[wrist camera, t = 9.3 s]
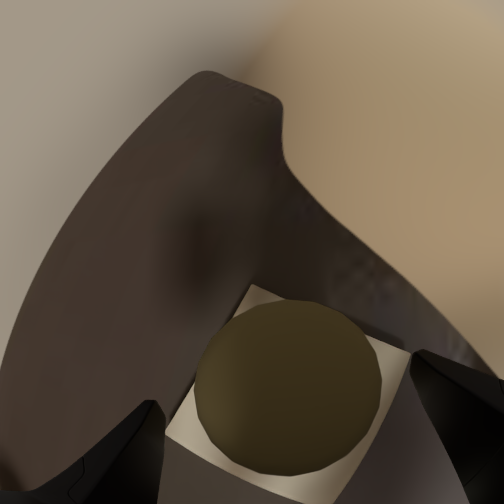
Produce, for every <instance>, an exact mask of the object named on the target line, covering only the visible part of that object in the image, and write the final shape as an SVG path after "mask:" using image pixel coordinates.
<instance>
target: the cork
mask: <svg viewBox="0 0 504 504" xmlns="http://www.w3.org/2000/svg"><path fill="white" fill-rule="evenodd" d="M381 388H382V376H381V371H380V367H379V363H378V359H377V355H376V352H375V350H374V349H373V347H372V345H371V344H370V342H369V341H368V339H367V338H366V336H365V334H364V333H363V331H362V330H361V329H360V328H359V327H358V326H357V325H355V324H354V323H353V322H352V321H350V320H349V319H348V318H347V317H345V316H344V315H343V314H342V313H341V312H339V311H336V310H334V309H331V308H329V307H326V306H323V305H321V304H318V303H316V302H312V301H299V300H288V299H284V300H280V301H275V302H270V303H265V304H260V305H256V306H255V307H253V308H251V309H249V310H247V311H245V312H243V313H241V314H239V315H237V316H236V317H234V318H232V319H231V320H230V321H229V322H228V323H227V324H226V325H225V326H224V327H223V328H222V329H221V330H220V331H219V332H217V333H216V334H215V335H214V336H213V337H212V338H211V340H210V342H209V344H208V346H207V348H206V350H205V351H204V353H203V355H202V357H201V359H200V361H199V363H198V367H197V373H196V379H195V384H194V397H195V403H196V409H197V415H198V419H199V421H200V423H201V425H202V426H203V428H204V430H205V432H206V434H207V436H208V437H209V439H210V441H211V443H212V444H214V445H215V446H216V447H217V448H218V449H219V450H220V451H221V452H222V453H223V454H224V455H226V456H227V457H228V458H229V459H230V460H231V461H232V462H234V463H236V464H238V465H241V466H243V467H245V468H247V469H250V470H252V471H254V472H257V473H259V474H266V475H275V476H287V477H292V476H297V475H302V474H307V473H311V472H316V471H320V470H322V469H324V468H326V467H328V466H330V465H331V464H333V463H335V462H337V461H338V460H340V459H342V458H344V457H345V456H347V455H348V454H349V453H350V452H351V451H352V450H353V449H354V448H355V447H356V446H357V444H358V443H359V442H360V441H361V440H362V439H363V438H364V437H365V436H366V435H367V433H368V431H369V429H370V427H371V425H372V423H373V421H374V418H375V416H376V414H377V412H378V409H379V407H380V398H381Z"/></svg>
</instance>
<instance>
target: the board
mask: <svg viewBox="0 0 504 504" xmlns="http://www.w3.org/2000/svg"><path fill="white" fill-rule="evenodd" d="M280 300H284V298H281V297H279V296H277V295H275V294H273V293H271V292H268V291H266V290H264V289H262V288H260V287H258V286H255V285H253V284H252V285H251V286H250V288H249V290H248V292H247V293H246V295H245V297H244V299H243V300H242V302H241V304H240V306H239V307H238V309H237V311H236V313H235V314H234V316H233V318H234V317H236V316H237V315H239V314H241V313H243V312H245V311H247V310H249V309H251V308H253V307H255V306H256V305H260V304H265V303H270V302H275V301H280ZM365 336H366V338H367V339H368V341H369V342H370V344H371V345H372V347H373V349H374V350H375V352H376V355H377V359H378V363H379V367H380V371H381V376H382V388H381V398H380V407H379V409H378V412H377V414H376V416H375V418H374V421H373V423H372V425H371V427H370V429H369V431H368V433H367V435H366V436H365V437H364V438H363V439H362V440H361V441H360V442H359V443H358V444H357V446H356V447H355V448H354V449H353V450H352V451H351V452H350V453H349V454H348V455H347V456H345V457H344V458H342V459H340V460H338V461H337V462H335V463H333V464H331V465H330V466H328V467H326V468H324V469H322V470H320V471H316V472H311V473H307V474H302V475H297V476H292V477H287V476H275V475H266V474H259V473H257V472H254V471H252V470H250V469H247V468H245V467H243V466H241V465H238V464H236V463H234V462H232V461H231V460H230V459H229V458H228V457H227V456H226V455H224V454H223V453H222V452H221V451H220V450H219V449H218V448H217V447H216V446H215V445H214V444H212V443H211V441H210V439H209V437H208V436H207V434H206V432H205V430H204V428H203V426H202V425H201V423H200V421H199V419H198V415H197V409H196V403H195V397H194V384H195V383H194V384H193V386H192V388H191V389H190V391H189V393H188V394H187V396H186V398H185V399H184V401H183V403H182V404H181V406H180V408H179V409H178V411H177V413H176V414H175V416H174V418H173V419H172V421H171V422H170V424H169V426H168V427H167V429H166V431H165V434H166V435H167V436H169V437H170V438H172V439H173V440H175V441H176V442H178V443H179V444H181V445H182V446H184V447H185V448H187V449H189V450H190V451H192V452H193V453H195V454H197V455H198V456H200V457H202V458H204V459H205V460H207V461H209V462H211V463H212V464H214V465H216V466H218V467H220V468H222V469H223V470H225V471H227V472H229V473H231V474H233V475H235V476H237V477H239V478H241V479H243V480H246V481H248V482H250V483H252V484H254V485H257V486H259V487H261V488H264V489H266V490H269V491H271V492H274V493H276V494H279V495H281V496H284V497H287V498H290V499H292V500H295V501H298V502H301V503H305V504H333V503H334V501H335V500H336V499H337V497H338V496H339V494H340V493H341V492H342V490H343V489H344V487H345V486H346V484H347V483H348V481H349V480H350V478H351V477H352V475H353V474H354V472H355V471H356V469H357V467H358V466H359V464H360V463H361V461H362V459H363V458H364V456H365V454H366V452H367V451H368V449H369V447H370V445H371V444H372V442H373V440H374V438H375V436H376V434H377V432H378V430H379V428H380V426H381V424H382V422H383V420H384V418H385V416H386V414H387V412H388V410H389V408H390V405H391V403H392V401H393V399H394V396H395V394H396V392H397V389H398V387H399V384H400V382H401V379H402V377H403V374H404V372H405V369H406V366H407V363H408V361H409V358H410V355H411V353H408V352H406V351H403V350H401V349H399V348H396V347H394V346H391V345H389V344H386V343H384V342H382V341H379V340H377V339H374V338H372V337H370V336H367V335H365Z"/></svg>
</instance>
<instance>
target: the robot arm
mask: <svg viewBox="0 0 504 504" xmlns="http://www.w3.org/2000/svg"><path fill="white" fill-rule="evenodd" d="M409 372H410V376H411V378H412V381H413V383H414V385H415V388H416V390H417V392H418V395H419V397H420V400H421V402H422V405H423V407H424V409H425V411H426V413H427V414H428V416H429V418H430V420H431V422H432V424H433V426H434V428H435V429H436V431H437V433H438V435H439V437H440V439H441V441H442V443H443V445H444V447H445V449H446V451H447V453H448V455H449V457H450V459H451V461H452V464H453V466H454V468H455V470H456V472H457V474H458V477H459V479H460V481H461V483H462V486H463V488H464V491H465V493H466V495H467V498H468V500H469V503H470V504H504V380H502V379H498V378H496V377H494V376H491V375H488V374H486V373H483V372H480V371H478V370H475V369H473V368H470V367H467V366H465V365H462V364H460V363H457V362H455V361H452V360H450V359H447V358H445V357H442V356H440V355H437V354H435V353H432V352H430V351H427V350H425V349H421V350H419V351H416V352H414V353H413V355H412V359H411V364H410V369H409ZM165 427H166V417H165V414H164V412H163V411H162V409H161V407H160V405H159V404H158V402H157V401H156V400H145V401H143V402H142V403H141V404H140V405H139V406H138V407H137V408H136V409H135V410H133V411H132V412H131V413H130V414H129V415H128V416H127V417H126V418H125V419H124V420H123V421H121V422H120V423H119V424H118V425H117V426H116V427H115V428H114V429H113V430H111V431H110V432H109V433H108V434H107V435H106V436H105V437H104V438H102V439H101V440H100V441H99V442H98V443H97V444H96V445H95V446H93V447H92V448H91V449H90V450H89V451H88V452H86V453H85V454H84V455H83V456H82V457H81V458H79V459H78V460H77V461H76V462H75V463H73V464H72V465H71V466H70V467H68V468H67V469H66V470H64V471H63V472H61V473H60V474H59V475H57V476H56V477H54V478H53V479H51V480H49V481H48V482H46V483H45V484H43V485H42V486H40V487H38V488H36V489H34V490H31V491H5V490H0V504H157V499H158V492H159V485H160V478H161V472H162V465H163V459H164V448H165Z"/></svg>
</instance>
